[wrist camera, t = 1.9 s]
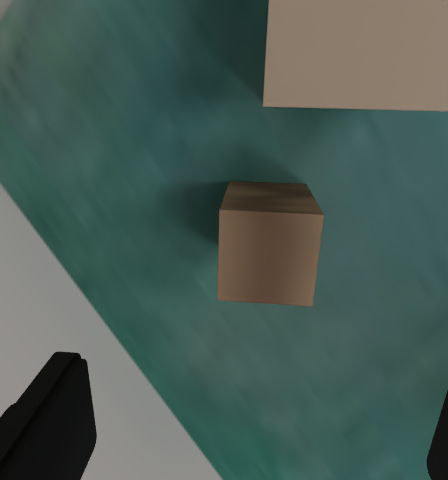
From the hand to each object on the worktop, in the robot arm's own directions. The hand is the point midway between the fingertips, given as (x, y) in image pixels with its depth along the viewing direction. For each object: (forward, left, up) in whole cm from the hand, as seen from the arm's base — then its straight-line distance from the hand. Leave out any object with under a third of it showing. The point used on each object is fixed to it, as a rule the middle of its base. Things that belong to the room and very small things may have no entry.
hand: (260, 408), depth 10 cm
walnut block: (0, 0, -17) cm, 17 cm away
